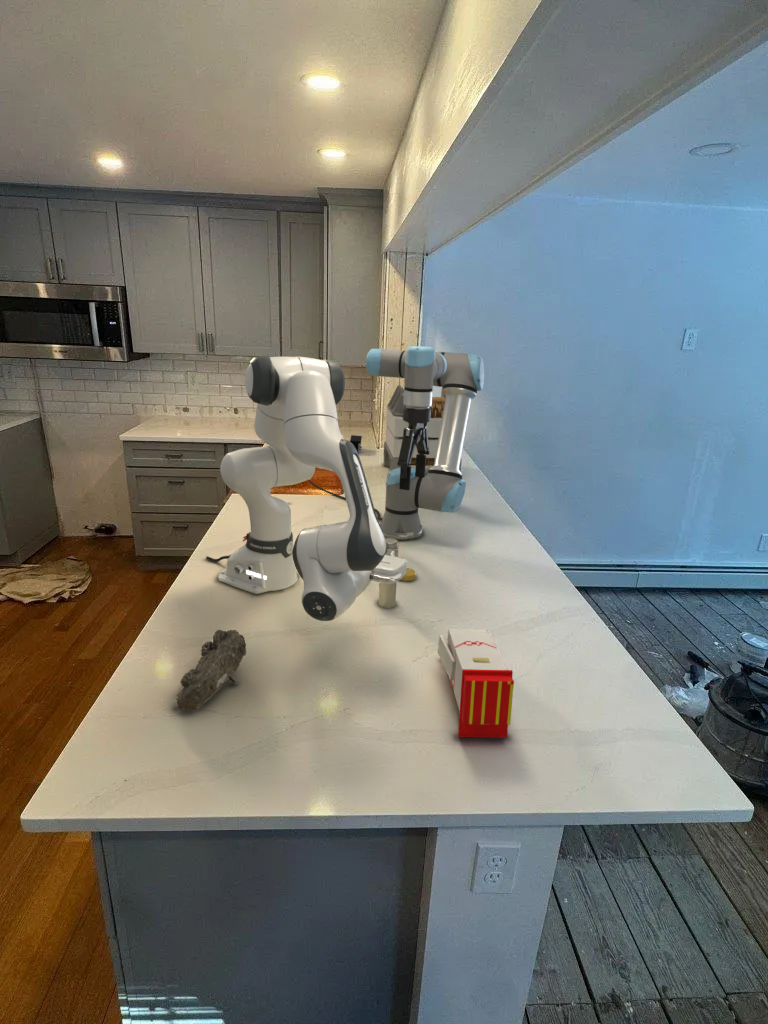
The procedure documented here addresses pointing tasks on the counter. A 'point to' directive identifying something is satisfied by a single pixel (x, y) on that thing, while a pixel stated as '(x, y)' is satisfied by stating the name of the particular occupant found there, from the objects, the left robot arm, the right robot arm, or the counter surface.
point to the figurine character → (356, 441)
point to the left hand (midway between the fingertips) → (372, 550)
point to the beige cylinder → (388, 590)
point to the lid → (409, 575)
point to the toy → (478, 682)
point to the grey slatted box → (397, 427)
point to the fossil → (212, 669)
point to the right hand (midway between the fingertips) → (412, 483)
